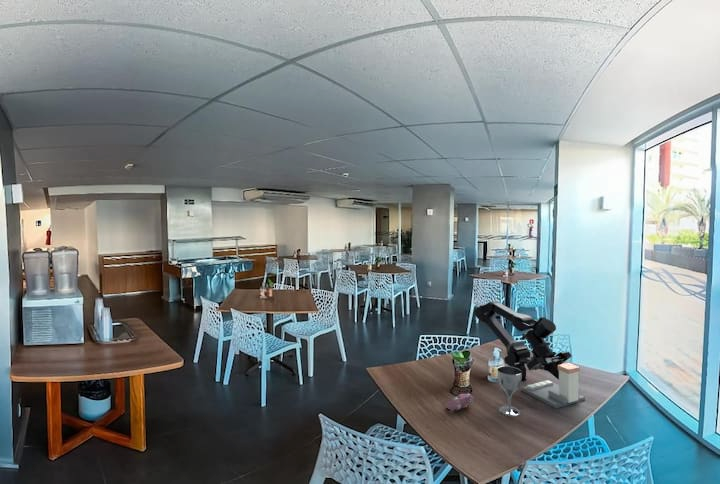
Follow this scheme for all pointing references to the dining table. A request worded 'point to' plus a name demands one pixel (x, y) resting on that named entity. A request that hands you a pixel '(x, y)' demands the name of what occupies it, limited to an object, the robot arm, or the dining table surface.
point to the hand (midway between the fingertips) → (562, 381)
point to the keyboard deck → (549, 393)
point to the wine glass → (509, 386)
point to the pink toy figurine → (460, 401)
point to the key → (568, 381)
